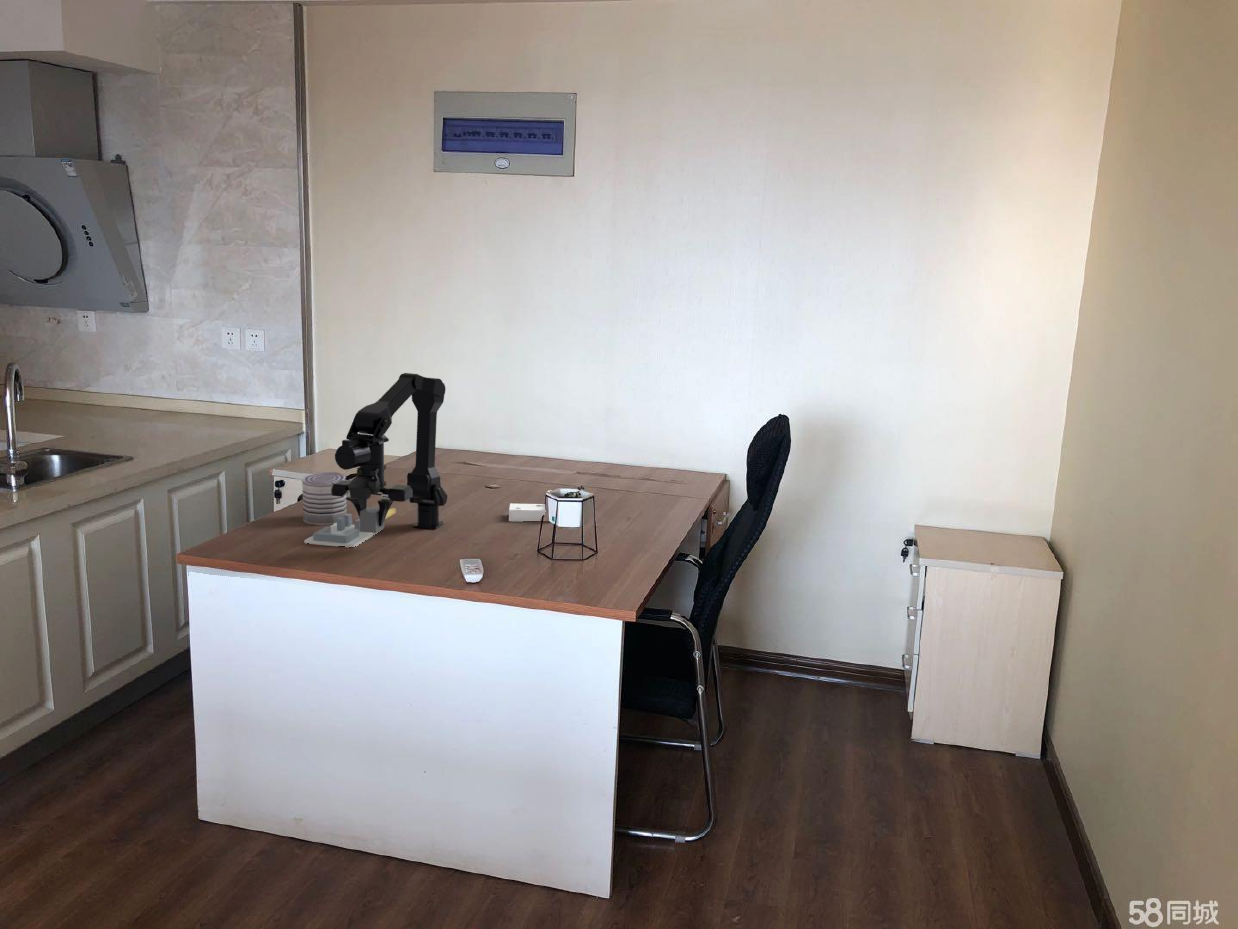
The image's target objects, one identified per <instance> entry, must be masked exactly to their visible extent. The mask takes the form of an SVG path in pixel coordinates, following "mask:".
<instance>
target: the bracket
mask: <svg viewBox="0 0 1238 929" xmlns="http://www.w3.org/2000/svg"><path fill="white" fill-rule="evenodd" d="M550 491H551V490H547V492H550ZM545 512H546V510H545V503H511V502H510V503H509V510H508V521H509V522H523V521H540V519H541V517H542V516H543V515H545Z"/></svg>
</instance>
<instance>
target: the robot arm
mask: <svg viewBox="0 0 1238 929" xmlns="http://www.w3.org/2000/svg"><path fill="white" fill-rule="evenodd" d="M445 384H446V383H444V382H443V380H442V379H441V378H438V377H435V378H434V377H426V376H423V375H421V374H420V375H419V373H411V372H410V373H409V372H403V373H401V374H400V375H399V376H398V379H397V381H395V382H394V383H393V385H391V386H390V388H388V389H387V390H386V392H385V393H384V394H382V396H381V397H380V398H378V400H376V402H374V403H371V404H367V405H365V406H364V407H363V408H360V410H358V411H357V412H356V413H355V415H354V417H353V420H352V422H351V425H350V428H349V430H348V432H347V434H346V437H345V438H346V439H342V440H341V445H340V446H338V448H337V449H336V450H335V453H334V459H335V460H334V461H335V462H336V464H337V466H338V467H339V468H340V469H341V470H344V471H345V470H346V471H348V470H352V469H355V468H356V469H357V470H356V475H355V477H353V478H352V480H347V479H346V480H341V481H339V482H337V483H335V484H333V485H332V487H331V495H332V496H341V497H342V496H344V495H345V494H346V501H349V502H351V503H352V505H353V506H354V508H355V510H356V512H357V515H358V517H359V518H360V511H362V510H364V509H365V508H367V507H368V506H367V504H368V503H367V500H368V499H370V498H371V496H372V495H373V496H375V495H376V496H381V499H379V500H377V504H378V506H379V526H382V525H383V523H384V524H385V520H386V519H385V518H386V515H387V513H388V510H389V509H391V507H392V504H393V503H394V502H400V503H401V502H402V503H404V502H406V501H408V500H409V503H410V504H417V508H416V511H417V514H416V515H417V516H416V518H417V519H416V521H417V522H415V523H414V524H413V525H412V528H416V529H417V528H420V529H430V530H436V529H438V528H440V527H441V526H442V525H443V524H444V521H442V520H440V506H441V507H443V506H444V507H445V505H446V504H447V502H448V501H447V500H448V494H447V492H445V490H444V489H443V487H442V485H441V484H442V483H441V476H440V474H439V472H438V469H436V465H435V463H436V441H437V440H436V439H437V417H438V415H437V414H438V411H439V410H440V408H441V407H442V405H443V404H444V402H445V401H444V399H445V393H446V389H447V388H446V385H445ZM410 397H411V401H412V402H411V403H413V405H414V408H415V409H416V411H417V420H416V422H417V423H416V444H415V445H416V446H415V466H414V468H413V469H412V471H411V472H408V473H407V475H406V480H407V482H406V485H405V484H395V485H394V486H392V487H386V486H387V481H386V480H385V470H387V464H385V448H384V447H385V443H387V442H389V441H390V438H388V437H387V436H386V435H385V434H386V433H387V432H388V430H389V428H390V427H391V425H392V424H393V421H392V420H393V416H394V415H395V413H397V411H398V410H399V409H400V408H401V407H402V406H403V405H404V404H405V402H407V400H409V398H410Z"/></svg>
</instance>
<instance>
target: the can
mask: <svg viewBox="0 0 1238 929" xmlns="http://www.w3.org/2000/svg"><path fill="white" fill-rule="evenodd" d="M347 476H348V474H347V475H346V474H344V473H340V472H337V471H330V472H329V471H325V472H323V471H322V472H316V473H312V474H308V475H307V474H306V475H303V478H302V480H301V482H302V484H301V486H302V487H301V488H302V517H303V518H302V520H303V522H305V523H306V524H308V525H313V524H314V525H316V526H330V525H329V524H335V523H337V519H338V518H340V517H342V518H344V515H346V514H348V511H347V509H348V508H347V507H348V506H347V505H348V504H347V500H346V498H347V493H346V494H345V495H344V496H342V497H341V496H332V495H331V487H332V485H333V484H335V483H337V482H339V481H341V480H346V481H347ZM314 525H313V526H314Z"/></svg>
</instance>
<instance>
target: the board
mask: <svg viewBox="0 0 1238 929" xmlns="http://www.w3.org/2000/svg"><path fill="white" fill-rule="evenodd" d="M381 530H382V531H383V529H381ZM381 530H380V531H381ZM380 531H378V532H379V533H380ZM382 531H381V532H382ZM378 532H377V533H371V532H360V518H357V519H355V520H354V524H353V514H352V513H347V514H346V515H344V518H342V517H340V518H338V519H337V523H335V524H333V525H325V526H324V527H322V528H320V529H319V530H316V531H315V532H312V533H313V534H312V535H311V536H309V537H307V538H306V539H304V544H307V543H309V544H308V545H318V546H330V547H338V546H345V547H344V548H349V547H355V546H356V547H358V546H360V545H361V544H363V543H364V542H366V541H367V540H369V539H371V538H373V537H374V536H376V535H377V534H378ZM375 534H376V535H375ZM373 535H374V536H373ZM365 540H366V541H365ZM362 542H363V543H362ZM359 544H360V545H359ZM356 547H355V548H356Z"/></svg>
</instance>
